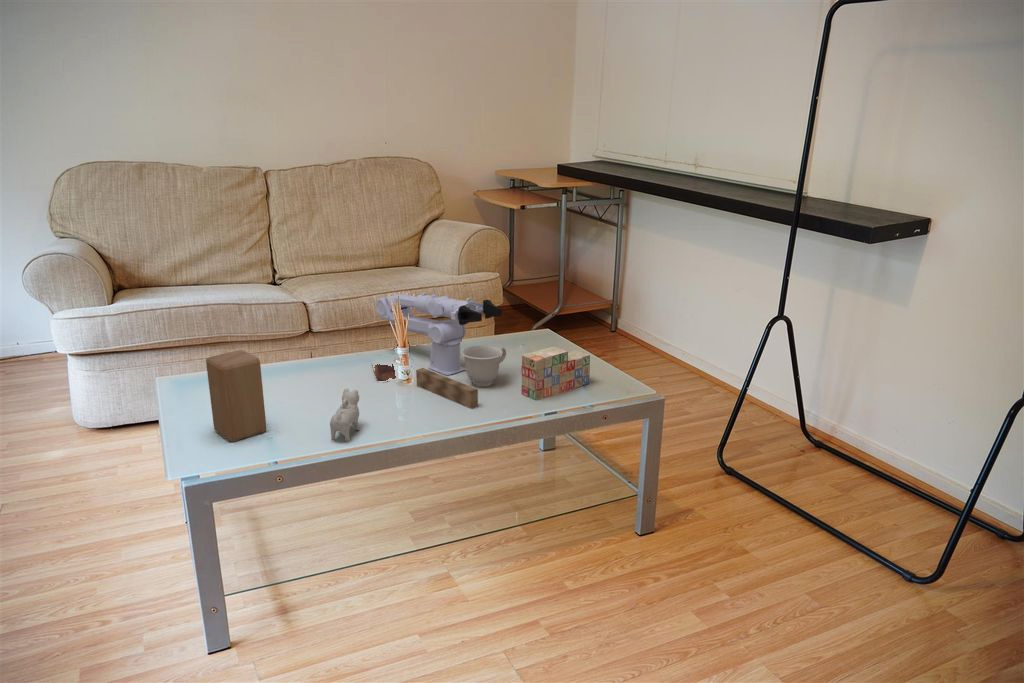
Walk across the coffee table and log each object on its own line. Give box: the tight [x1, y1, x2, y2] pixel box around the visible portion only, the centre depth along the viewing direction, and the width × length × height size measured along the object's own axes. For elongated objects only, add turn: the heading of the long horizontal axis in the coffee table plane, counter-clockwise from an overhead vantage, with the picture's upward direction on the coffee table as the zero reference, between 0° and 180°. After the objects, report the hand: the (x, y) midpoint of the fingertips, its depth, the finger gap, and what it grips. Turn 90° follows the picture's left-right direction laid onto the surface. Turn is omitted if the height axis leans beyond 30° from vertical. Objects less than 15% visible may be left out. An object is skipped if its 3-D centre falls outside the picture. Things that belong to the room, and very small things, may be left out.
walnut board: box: [415, 367, 479, 410], centre depth 220 cm, size 24×2×5 cm, turn 45°
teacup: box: [461, 345, 507, 388], centre depth 230 cm, size 12×15×10 cm
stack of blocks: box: [521, 346, 591, 401], centre depth 225 cm, size 21×6×12 cm, turn 129°
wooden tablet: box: [373, 364, 396, 382], centre depth 244 cm, size 26×2×10 cm
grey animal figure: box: [329, 388, 361, 443], centre depth 195 cm, size 5×13×11 cm, turn 171°
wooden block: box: [205, 349, 267, 442], centre depth 194 cm, size 10×10×20 cm
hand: (490, 314), depth 222 cm, fingers open, 7 cm apart
